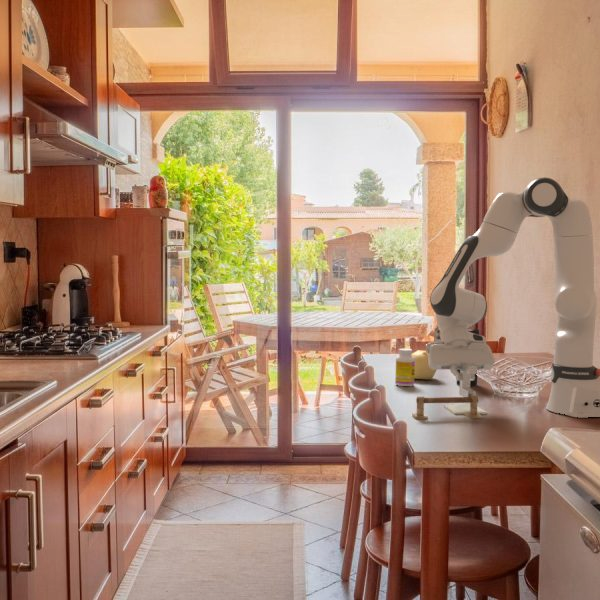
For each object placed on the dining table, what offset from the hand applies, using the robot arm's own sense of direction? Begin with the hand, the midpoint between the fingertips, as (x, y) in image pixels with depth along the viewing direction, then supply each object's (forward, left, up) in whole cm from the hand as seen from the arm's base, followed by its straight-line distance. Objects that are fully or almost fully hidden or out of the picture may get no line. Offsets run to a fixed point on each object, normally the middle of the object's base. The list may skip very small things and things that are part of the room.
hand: (465, 379), depth 219 cm
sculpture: (+12, -51, -10) cm, 53 cm away
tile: (0, -1, -10) cm, 10 cm away
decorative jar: (-2, -104, -10) cm, 104 cm away
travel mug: (-4, -43, -10) cm, 44 cm away
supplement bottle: (+18, -37, -10) cm, 42 cm away
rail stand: (+6, +9, -10) cm, 15 cm away
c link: (0, +2, -5) cm, 5 cm away
